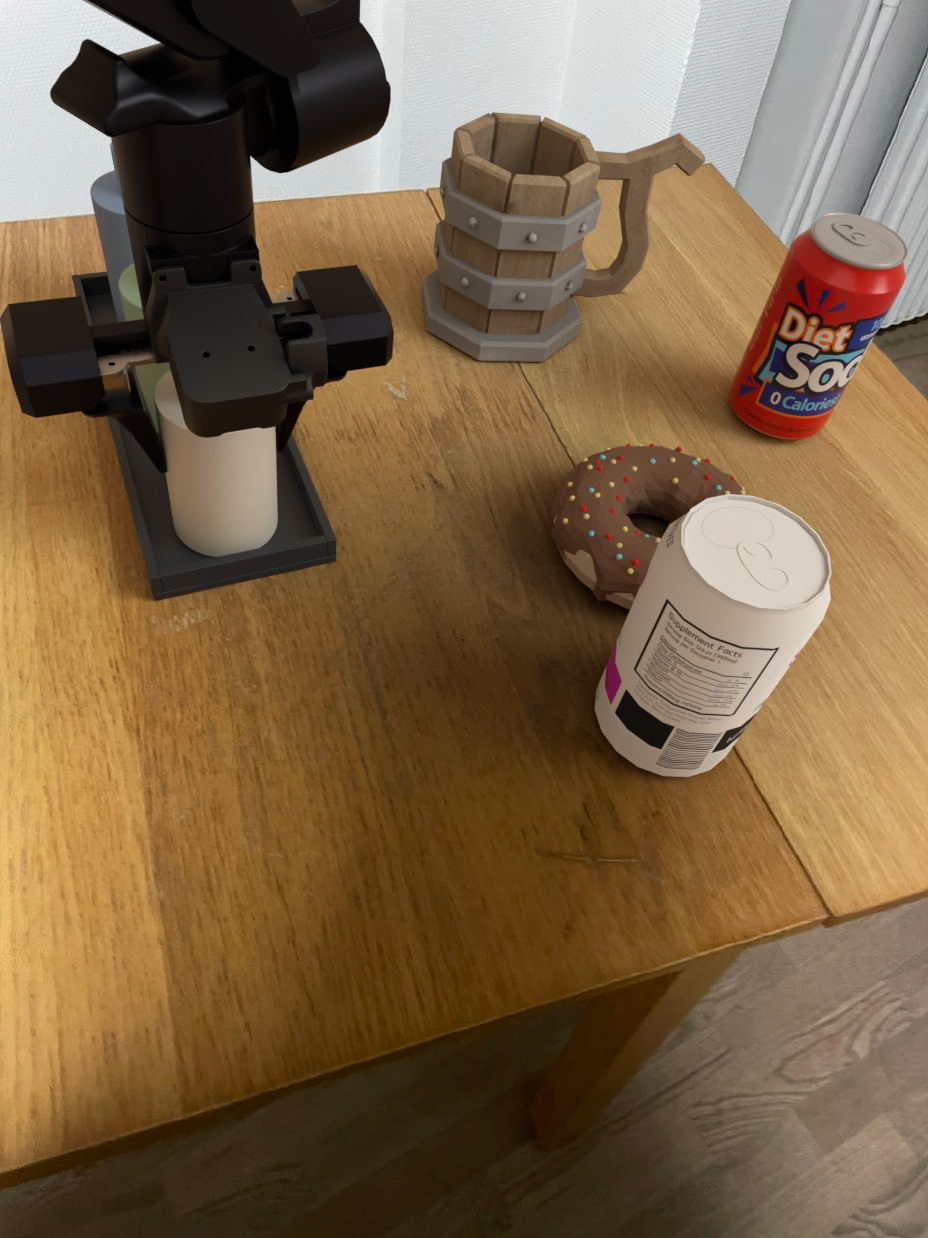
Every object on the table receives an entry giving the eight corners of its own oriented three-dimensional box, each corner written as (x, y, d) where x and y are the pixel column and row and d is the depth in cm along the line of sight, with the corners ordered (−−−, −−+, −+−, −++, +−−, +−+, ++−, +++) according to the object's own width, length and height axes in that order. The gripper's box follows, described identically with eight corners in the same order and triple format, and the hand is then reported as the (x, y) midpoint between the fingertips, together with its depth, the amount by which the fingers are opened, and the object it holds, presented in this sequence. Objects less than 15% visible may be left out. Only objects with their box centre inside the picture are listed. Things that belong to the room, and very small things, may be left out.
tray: (154, 601, 54) (149, 579, 52) (76, 299, 70) (71, 274, 69) (336, 561, 57) (336, 539, 56) (222, 282, 74) (219, 258, 72)
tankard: (431, 361, 71) (452, 170, 59) (416, 269, 78) (431, 84, 67) (673, 366, 74) (739, 186, 63) (636, 277, 82) (688, 102, 70)
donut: (640, 667, 55) (664, 617, 51) (505, 523, 61) (518, 468, 57) (793, 576, 61) (825, 526, 57) (657, 454, 67) (677, 400, 63)
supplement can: (569, 680, 54) (636, 502, 42) (687, 649, 56) (782, 472, 45) (630, 800, 50) (724, 638, 38) (756, 760, 52) (881, 597, 40)
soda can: (773, 372, 75) (855, 197, 64) (841, 430, 72) (943, 255, 60) (704, 398, 72) (777, 218, 60) (772, 459, 69) (865, 281, 57)
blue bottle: (125, 349, 67) (88, 173, 56) (110, 298, 70) (73, 124, 60) (213, 337, 69) (193, 165, 58) (194, 289, 72) (172, 118, 62)
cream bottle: (185, 566, 55) (159, 396, 45) (164, 493, 58) (136, 318, 48) (289, 547, 57) (287, 379, 47) (263, 476, 60) (256, 306, 50)
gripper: (-20, 333, 34) (72, 596, 46) (445, 277, 40) (417, 523, 52) (-43, 182, 40) (44, 450, 52) (364, 152, 46) (356, 400, 58)
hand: (220, 457), depth 53 cm, fingers closed on cream bottle, 6 cm apart
